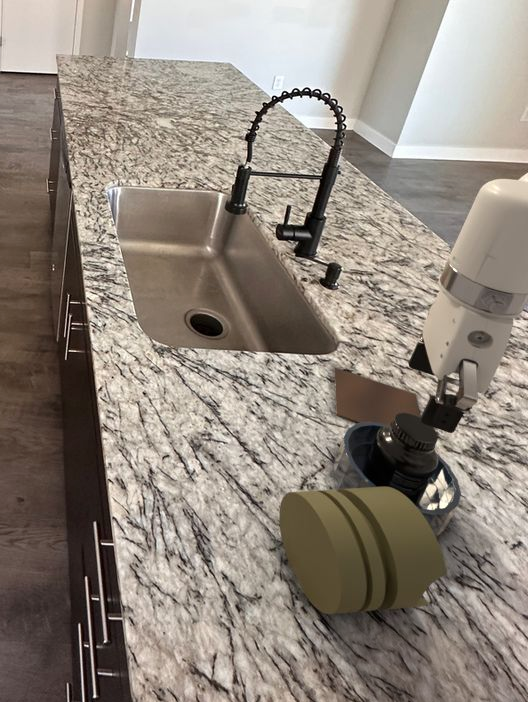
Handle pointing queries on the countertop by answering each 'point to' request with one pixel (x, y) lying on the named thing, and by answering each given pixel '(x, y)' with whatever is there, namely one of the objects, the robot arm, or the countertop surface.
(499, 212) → the robot arm
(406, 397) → the walnut board
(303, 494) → the piston
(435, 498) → the bowl
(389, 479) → the supplement bottle
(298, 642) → the countertop surface
